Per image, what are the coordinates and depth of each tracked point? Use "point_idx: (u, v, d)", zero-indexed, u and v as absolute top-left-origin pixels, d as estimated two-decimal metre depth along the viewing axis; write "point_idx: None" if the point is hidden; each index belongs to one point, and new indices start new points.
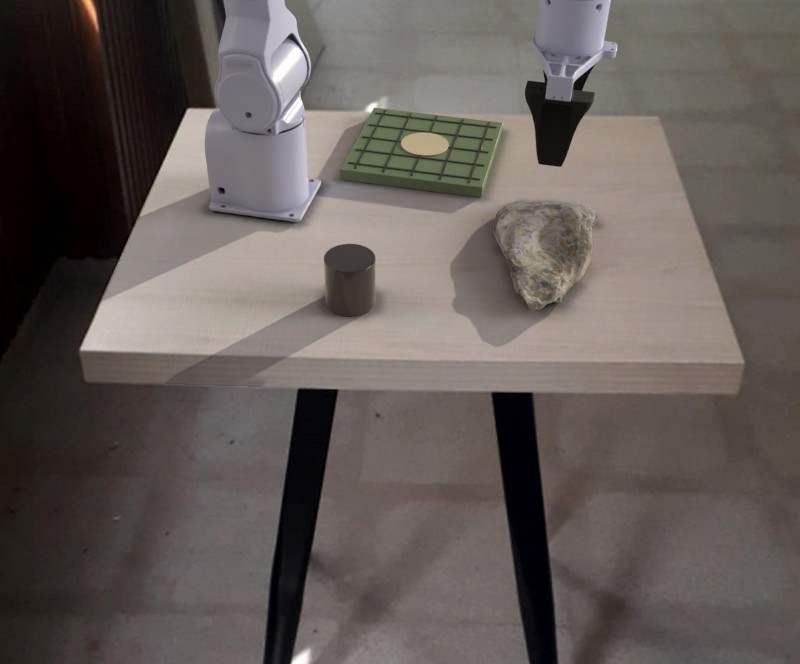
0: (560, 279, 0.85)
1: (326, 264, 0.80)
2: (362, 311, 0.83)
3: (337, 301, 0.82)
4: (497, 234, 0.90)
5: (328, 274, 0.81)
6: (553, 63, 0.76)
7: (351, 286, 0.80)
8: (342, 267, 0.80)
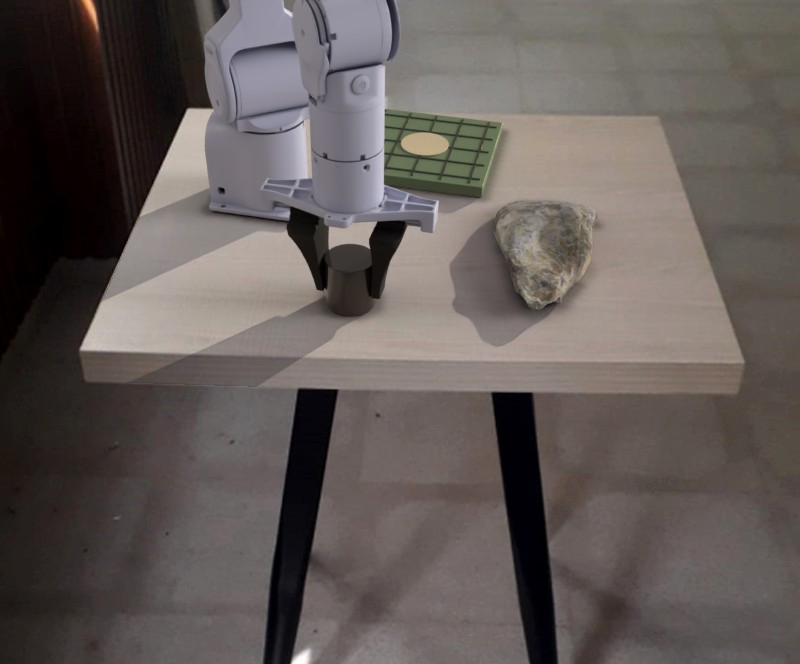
0: (560, 279, 0.85)
1: (326, 264, 0.80)
2: (362, 311, 0.83)
3: (338, 301, 0.82)
4: (497, 234, 0.90)
5: (328, 274, 0.81)
6: (296, 183, 0.78)
7: (352, 286, 0.80)
8: (342, 267, 0.80)
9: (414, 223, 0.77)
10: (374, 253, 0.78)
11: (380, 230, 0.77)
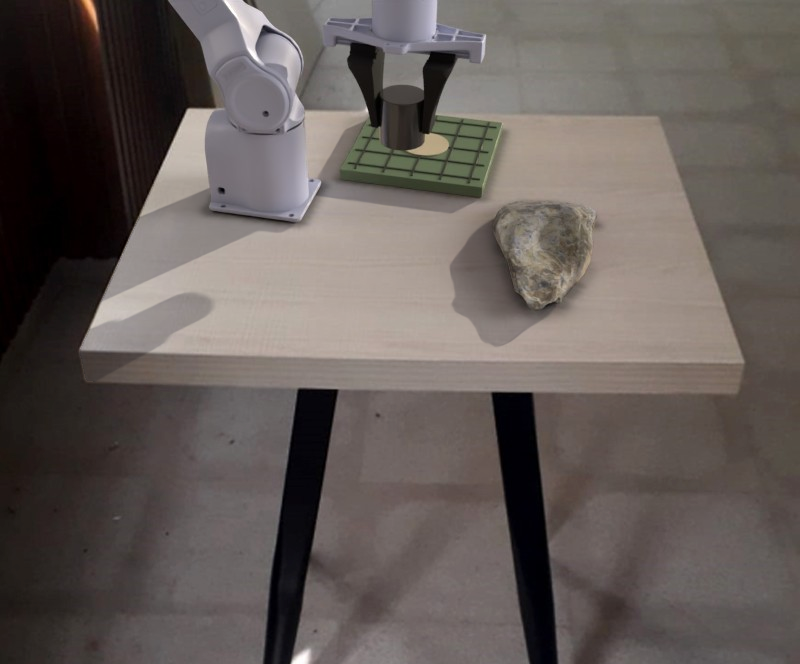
0: (560, 279, 0.85)
1: (382, 99, 0.88)
2: (413, 146, 0.90)
3: (391, 135, 0.90)
4: (497, 234, 0.90)
5: (383, 108, 0.88)
6: (356, 21, 0.86)
7: (404, 119, 0.88)
8: (396, 101, 0.88)
9: (463, 55, 0.85)
10: (426, 84, 0.85)
11: (432, 62, 0.85)
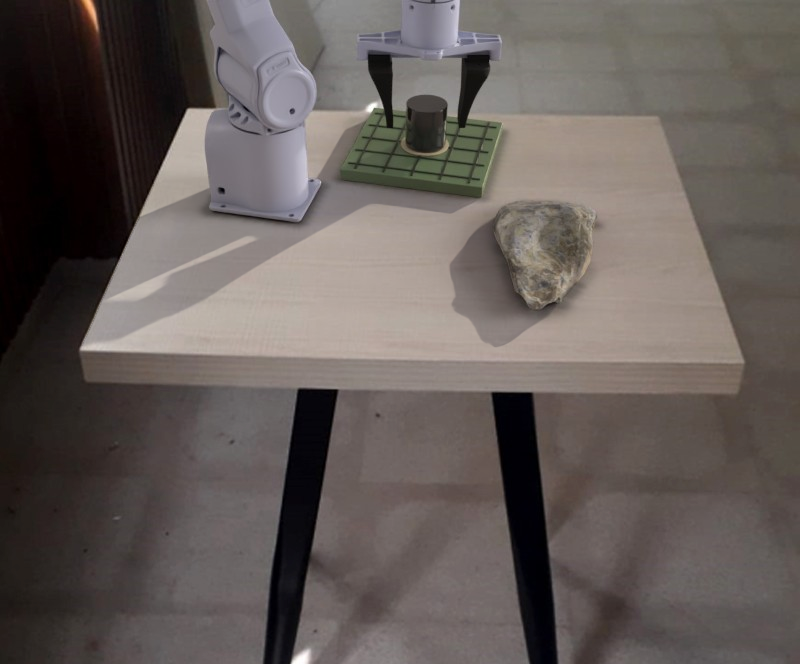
0: (560, 279, 0.85)
1: (412, 109, 0.99)
2: (440, 147, 1.02)
3: (421, 140, 1.01)
4: (497, 234, 0.90)
5: (413, 118, 1.00)
6: (382, 35, 0.96)
7: (434, 124, 1.00)
8: (426, 110, 0.99)
9: (483, 55, 0.97)
10: (468, 83, 0.97)
11: (471, 63, 0.96)
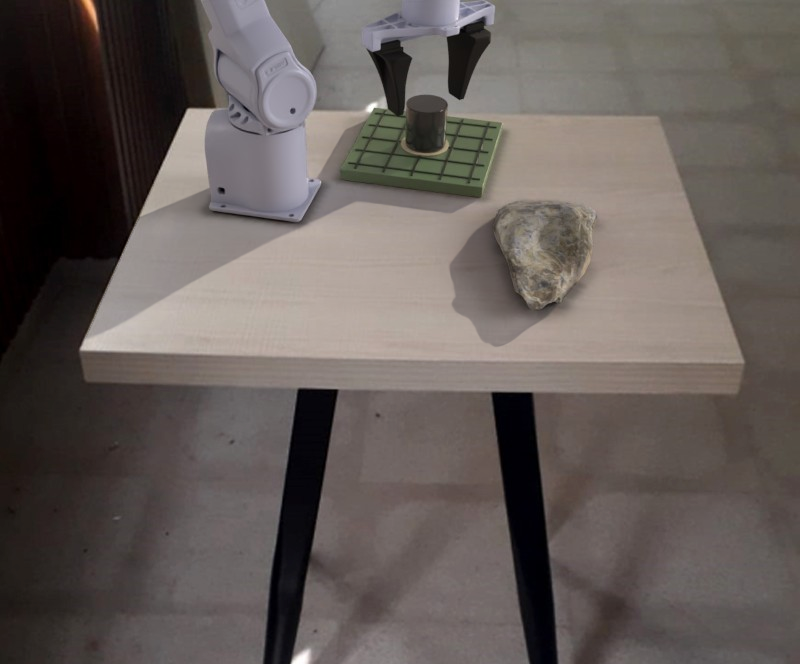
0: (560, 279, 0.85)
1: (412, 109, 0.99)
2: (440, 147, 1.02)
3: (421, 140, 1.01)
4: (497, 234, 0.90)
5: (413, 118, 1.00)
6: (385, 21, 0.93)
7: (434, 124, 1.00)
8: (426, 110, 0.99)
9: (476, 22, 0.97)
10: (473, 52, 0.97)
11: (471, 32, 0.97)
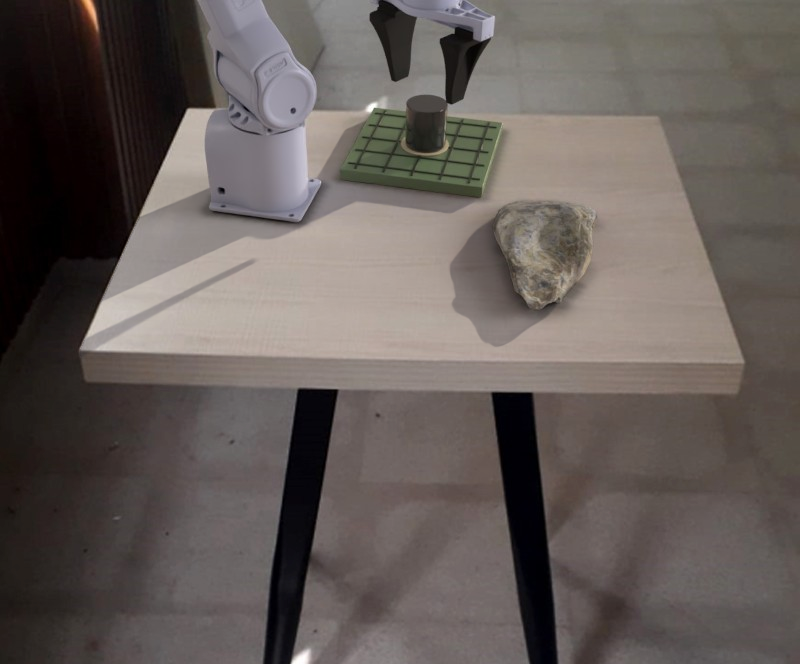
0: (560, 279, 0.85)
1: (412, 109, 0.99)
2: (440, 147, 1.02)
3: (421, 140, 1.01)
4: (497, 234, 0.90)
5: (413, 118, 1.00)
6: (461, 14, 0.91)
7: (434, 124, 1.00)
8: (426, 110, 0.99)
9: None
10: None
11: None
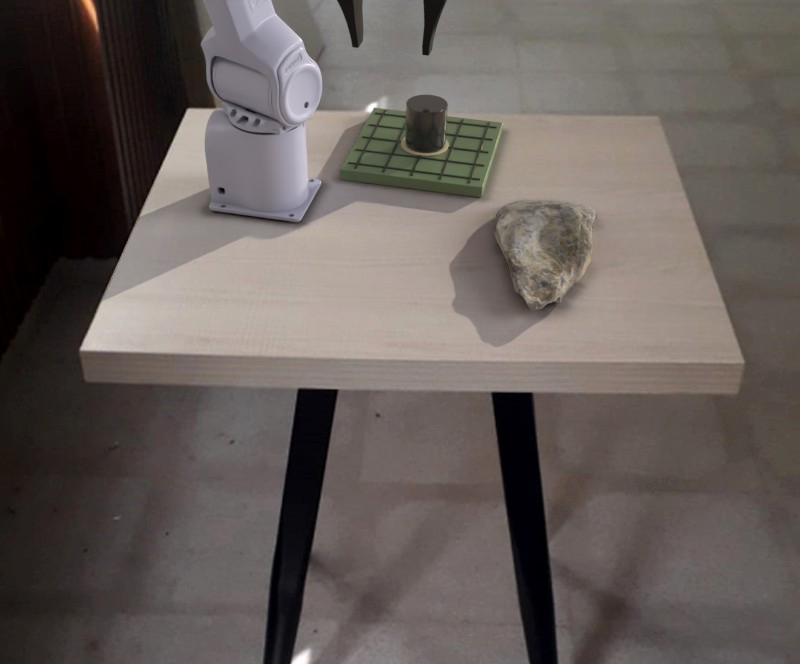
0: (560, 279, 0.85)
1: (412, 109, 0.99)
2: (440, 147, 1.02)
3: (421, 140, 1.01)
4: (497, 234, 0.90)
5: (413, 118, 1.00)
6: None
7: (434, 124, 1.00)
8: (426, 110, 0.99)
9: None
10: None
11: None
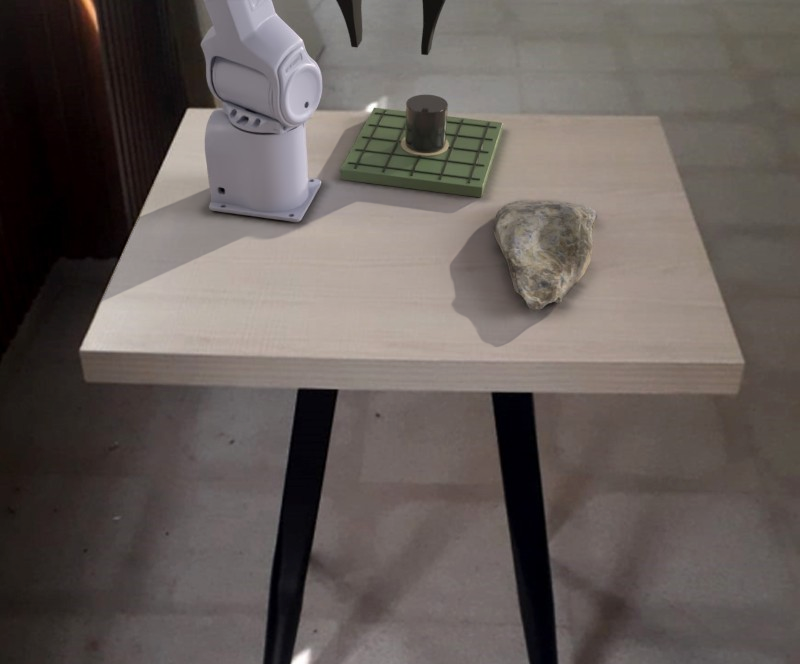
0: (560, 279, 0.85)
1: (412, 109, 0.99)
2: (440, 147, 1.02)
3: (421, 140, 1.01)
4: (497, 234, 0.90)
5: (413, 118, 1.00)
6: None
7: (434, 124, 1.00)
8: (426, 110, 0.99)
9: None
10: None
11: None
